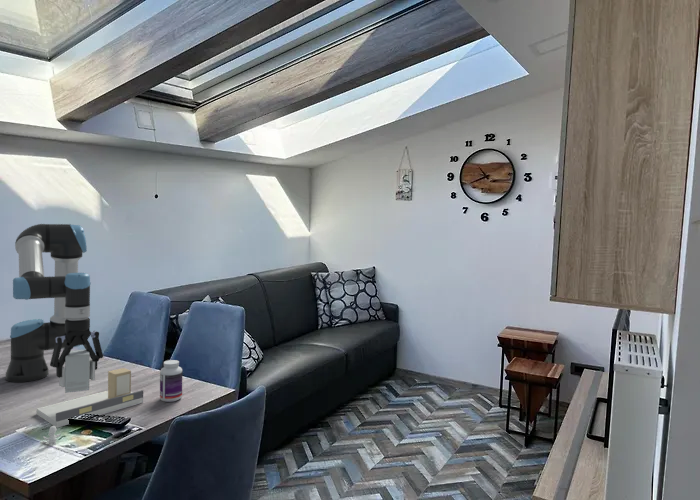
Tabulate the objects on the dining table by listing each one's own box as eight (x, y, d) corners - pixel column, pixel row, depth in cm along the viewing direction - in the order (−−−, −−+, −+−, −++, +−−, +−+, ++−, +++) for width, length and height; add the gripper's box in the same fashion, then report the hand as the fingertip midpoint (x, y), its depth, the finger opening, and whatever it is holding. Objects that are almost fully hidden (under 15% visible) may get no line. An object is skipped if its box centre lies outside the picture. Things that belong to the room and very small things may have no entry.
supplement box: (89, 390, 170) (89, 354, 169) (64, 393, 167) (64, 356, 166) (89, 383, 177) (89, 348, 176) (65, 386, 173) (65, 350, 172)
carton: (107, 397, 183) (108, 371, 183) (123, 393, 188) (124, 367, 187) (115, 401, 180) (115, 374, 180) (130, 397, 185) (131, 370, 184)
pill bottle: (186, 397, 193) (187, 360, 192) (172, 404, 185) (173, 366, 184) (169, 393, 195) (169, 357, 194) (154, 400, 188) (155, 363, 187)
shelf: (36, 414, 171) (36, 401, 171) (121, 392, 195) (121, 380, 195) (57, 427, 162) (57, 414, 161) (143, 402, 185) (143, 390, 185)
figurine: (30, 447, 149) (30, 428, 148) (54, 437, 156) (54, 418, 155) (49, 453, 146) (49, 433, 145) (72, 443, 153) (72, 423, 152)
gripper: (47, 324, 159) (47, 393, 161) (114, 315, 177) (114, 377, 178) (37, 321, 164) (37, 387, 165) (104, 312, 181) (103, 373, 182)
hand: (77, 382), depth 172 cm, fingers closed on supplement box, 9 cm apart
